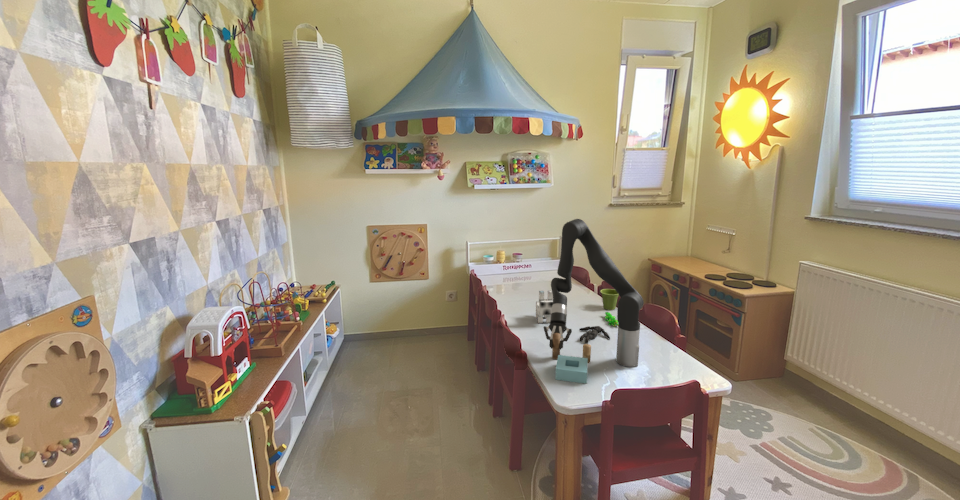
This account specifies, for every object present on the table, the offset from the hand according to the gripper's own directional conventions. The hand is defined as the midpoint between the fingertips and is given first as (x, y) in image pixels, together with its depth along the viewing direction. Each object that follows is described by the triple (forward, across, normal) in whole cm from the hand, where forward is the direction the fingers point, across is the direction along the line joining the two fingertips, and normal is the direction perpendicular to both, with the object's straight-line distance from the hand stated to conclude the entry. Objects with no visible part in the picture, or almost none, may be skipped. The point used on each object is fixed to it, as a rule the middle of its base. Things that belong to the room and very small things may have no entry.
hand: (555, 348), depth 183 cm
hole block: (+12, +8, -4) cm, 15 cm away
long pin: (+3, 0, +6) cm, 6 cm away
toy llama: (-28, -11, +37) cm, 48 cm away
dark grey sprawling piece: (-18, +17, +27) cm, 36 cm away
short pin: (+3, +14, +6) cm, 15 cm away
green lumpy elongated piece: (-34, +27, +43) cm, 61 cm away
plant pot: (-50, +27, +59) cm, 82 cm away
